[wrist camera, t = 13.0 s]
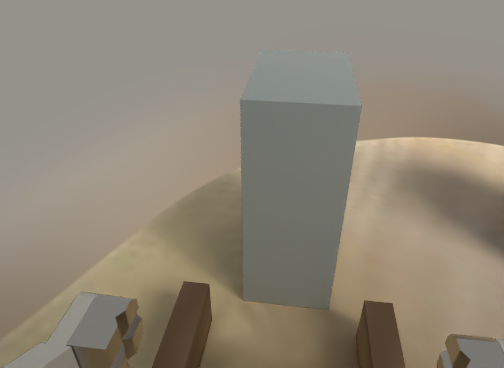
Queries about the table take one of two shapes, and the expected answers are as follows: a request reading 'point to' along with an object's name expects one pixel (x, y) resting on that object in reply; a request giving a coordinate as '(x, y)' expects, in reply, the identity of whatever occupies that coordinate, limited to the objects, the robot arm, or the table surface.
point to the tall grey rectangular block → (295, 173)
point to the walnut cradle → (199, 320)
